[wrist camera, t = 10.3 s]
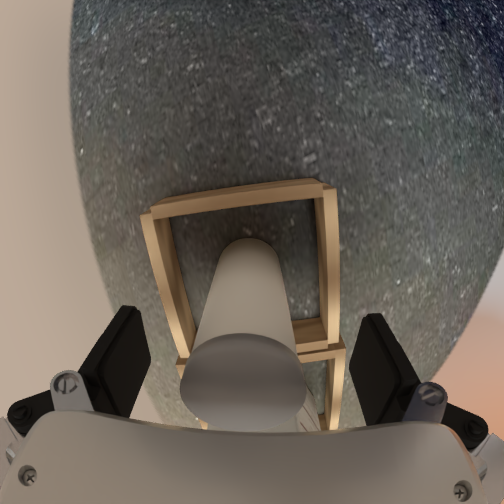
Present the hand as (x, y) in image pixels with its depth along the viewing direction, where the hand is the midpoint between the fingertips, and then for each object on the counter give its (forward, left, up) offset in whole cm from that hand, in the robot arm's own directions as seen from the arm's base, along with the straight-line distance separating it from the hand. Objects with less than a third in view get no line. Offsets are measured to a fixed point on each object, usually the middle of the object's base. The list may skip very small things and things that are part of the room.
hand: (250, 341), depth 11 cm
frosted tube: (+1, 0, -10) cm, 10 cm away
